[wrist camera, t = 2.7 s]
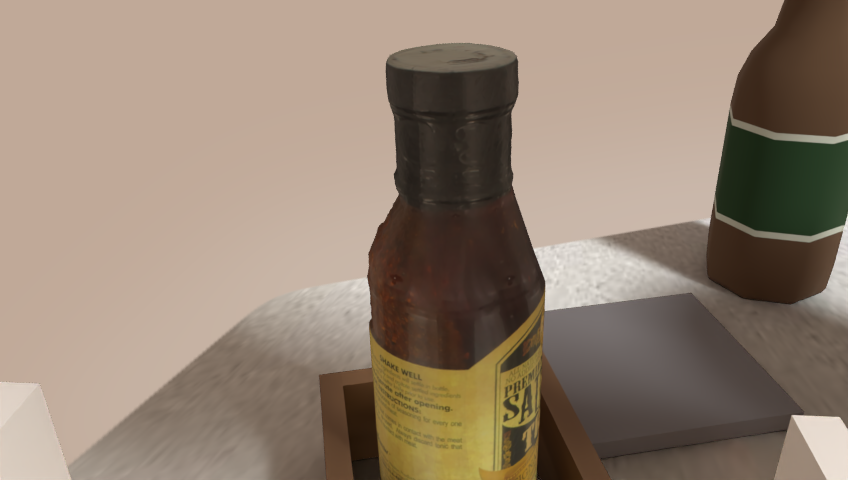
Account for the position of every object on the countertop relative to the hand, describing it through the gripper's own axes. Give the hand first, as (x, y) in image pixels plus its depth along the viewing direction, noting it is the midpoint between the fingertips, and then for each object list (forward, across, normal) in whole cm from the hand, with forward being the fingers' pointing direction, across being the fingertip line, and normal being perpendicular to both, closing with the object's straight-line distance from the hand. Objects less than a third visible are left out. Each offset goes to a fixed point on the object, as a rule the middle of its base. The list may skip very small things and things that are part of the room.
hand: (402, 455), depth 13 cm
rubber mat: (+23, +10, -15) cm, 29 cm away
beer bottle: (+34, +20, -15) cm, 42 cm away
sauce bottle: (+12, +1, -16) cm, 20 cm away
